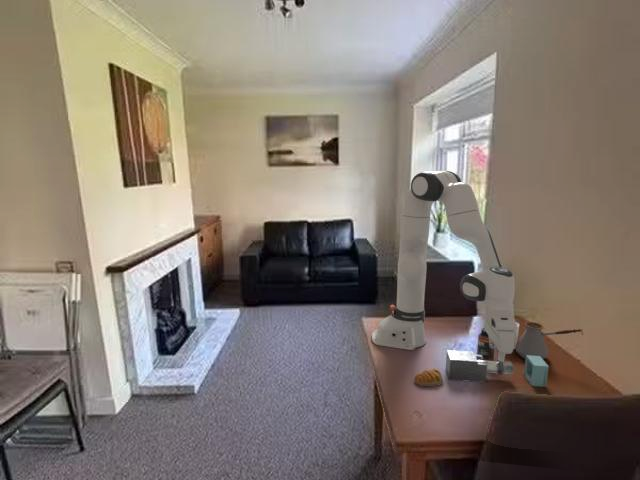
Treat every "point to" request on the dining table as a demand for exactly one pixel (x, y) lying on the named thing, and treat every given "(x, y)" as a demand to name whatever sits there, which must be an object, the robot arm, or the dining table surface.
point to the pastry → (429, 378)
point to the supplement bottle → (484, 346)
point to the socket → (536, 370)
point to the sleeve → (465, 366)
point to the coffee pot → (536, 340)
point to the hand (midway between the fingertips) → (496, 353)
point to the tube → (498, 367)
